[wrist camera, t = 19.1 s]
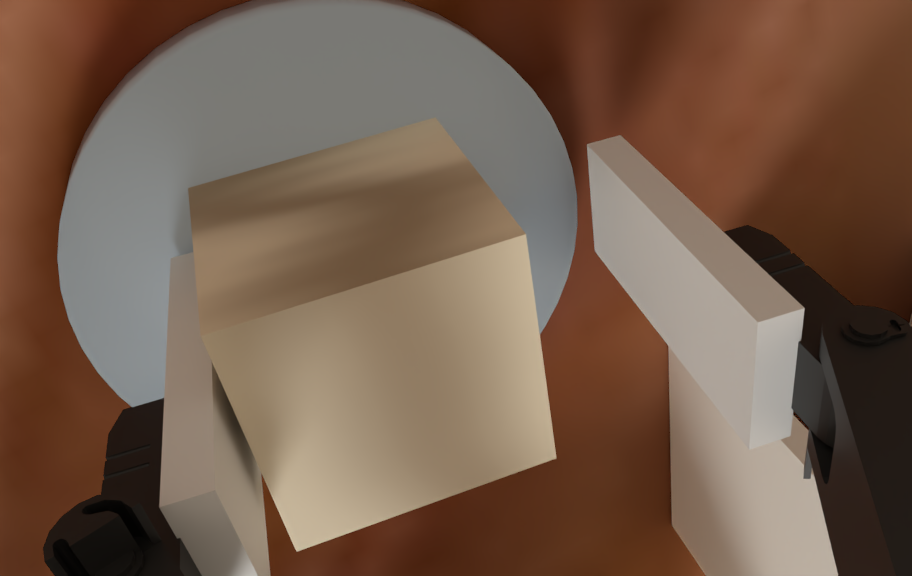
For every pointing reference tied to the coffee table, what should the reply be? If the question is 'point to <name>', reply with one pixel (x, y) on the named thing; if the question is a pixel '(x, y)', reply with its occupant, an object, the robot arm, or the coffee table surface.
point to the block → (371, 328)
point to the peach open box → (741, 493)
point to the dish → (284, 149)
